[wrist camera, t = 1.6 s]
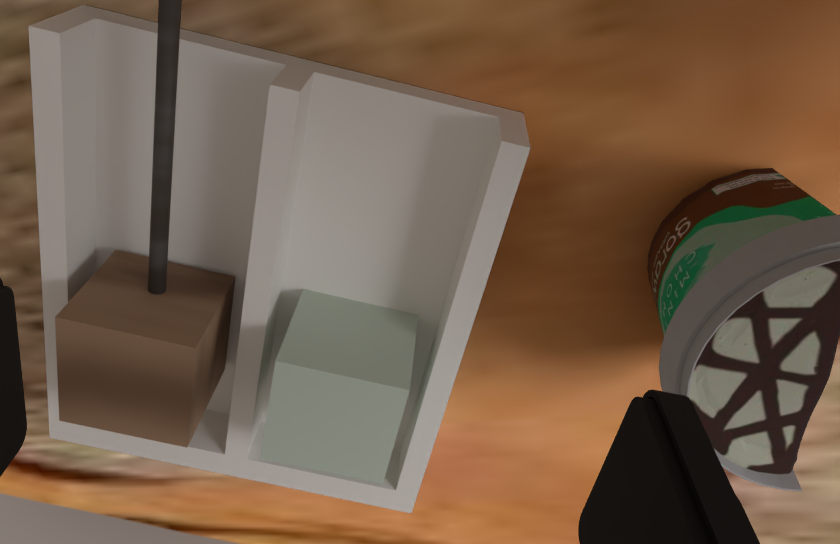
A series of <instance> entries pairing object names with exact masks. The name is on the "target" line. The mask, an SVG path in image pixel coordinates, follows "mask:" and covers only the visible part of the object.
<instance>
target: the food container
mask: <svg viewBox="0 0 840 544" xmlns="http://www.w3.org/2000/svg"><path fill="white" fill-rule="evenodd" d="M648 274H649V281H650V285H651V288H652V292H653V296H654V300H655V303H656V307H657V311H658V315H659V318H660V322H661V326H662V330H663V333H664V339H663V343H662V346H661V350H660V362H659V373H660V381H661V387H662V390H663V392H668V393H674V394H679V395H685V396H687V397H689V399H690V400H691V401H692V403H693V405H694V408H695V410H696V412H697V414H698V416H699V418H700V420H701V423H702V425H703V427H704V429H705V431H706V433H707V435H708V438H709V440H710V442H711V444H712V446H713V448H714V450H715V453H716V455H717V457H718V459H719V461H720V463H721V465H722V467H724V468H725V469H726V470H728V471H730V472H732V473H733V474H735V475H737V476H739V477H741V478H743V479H745V480H748V481H751V482H754V483H757V484H759V485H762V486H767V487H772V488H777V489H781V490H791V491H802V489H801V487H800V485H799V482H798V480H797V478H796V475H795V473H794V471H793V466H794V464H795V462H796V460H797V453H798V449H799V446H800V442H801V440H802V437H803V434H804V431H805V429H806V426H807V423H808V421H809V419H810V416H811V414H812V412H813V410H814V408H815V406H816V404H817V402H818V400H819V398H820V396H821V394H822V392H823V390H824V388H825V385H826V383H827V381H828V379H829V376H830V372H831V368H832V365H833V361H834V357H835V353H836V348H837V344H838V339H839V335H840V215H836V214H835V213H833V212H832V211H831V210H829V209H828V208H827V207H825V206H824V205H822V204H821V203H820V202H818V201H817V200H816V199H814V198H813V197H811V196H810V195H809V194H807V193H806V192H804V191H803V190H802V189H800V188H799V187H798V186H796V185H795V184H793V183H792V182H791V181H789V180H788V179H786V178H785V177H784V176H782V175H781V174H780V173H778V172H777V171H775V170H774V169H773V168H768V169H754V170H745V171H742V172H738V173H735V174H732V175H729V176H726V177H722V178H719V179H716V180H713V181H711V182H709V183H708V184H706V185H705V186H703V187H701V188H700V189H698V190H697V191H695V192H693V193H692V194H690V195H688V196H687V197H685V198H684V199H683V200H682V201H681V202H680V203H679V204H678V205H677V206H676V207H675V208H674V209H673V210H672V211H671V213H670V214H669V215H668V216H667V217H666V218H665V219H664V220H663V221H662V223H661V225H660V227H659V229H658V231H657V233H656V235H655V237H654V239H653V241H652V243H651V247H650V251H649V255H648Z"/></svg>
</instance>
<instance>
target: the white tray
mask: <svg viewBox="0 0 840 544" xmlns="http://www.w3.org/2000/svg"><path fill="white" fill-rule="evenodd" d="M28 27H29V46H30V65H31V85H32V104H33V123H34V143H35V162H36V181H37V201H38V220H39V240H40V259H41V278H42V298H43V317H44V336H45V356H46V375H47V394H48V414H49V433H50V438H53V439H58V440H63V441H68V442H73V443H77V444H82V445H87V446H92V447H96V448H101V449H106V450H111V451H116V452H120V453H125V454H130V455H135V456H139V457H144V458H149V459H154V460H159V461H163V462H168V463H173V464H178V465H182V466H187V467H192V468H197V469H202V470H206V471H211V472H216V473H221V474H225V475H230V476H235V477H240V478H245V479H249V480H254V481H259V482H264V483H269V484H273V485H278V486H283V487H288V488H292V489H297V490H302V491H307V492H312V493H316V494H321V495H326V496H331V497H335V498H340V499H345V500H350V501H355V502H359V503H364V504H369V505H374V506H378V507H383V508H388V509H393V510H398V511H402V512H407V513H412V510H413V507H414V504H415V501H416V498H417V494H418V491H419V488H420V485H421V482H422V479H423V476H424V473H425V470H426V467H427V464H428V461H429V458H430V455H431V452H432V448H433V445H434V442H435V439H436V436H437V433H438V430H439V427H440V424H441V421H442V418H443V415H444V412H445V409H446V406H447V403H448V399H449V396H450V393H451V390H452V387H453V384H454V381H455V378H456V375H457V372H458V369H459V366H460V363H461V360H462V357H463V353H464V350H465V347H466V344H467V341H468V338H469V335H470V332H471V329H472V326H473V323H474V320H475V317H476V314H477V311H478V308H479V304H480V301H481V298H482V295H483V292H484V289H485V286H486V283H487V280H488V277H489V274H490V271H491V268H492V265H493V262H494V258H495V255H496V252H497V249H498V246H499V243H500V240H501V237H502V234H503V231H504V228H505V225H506V222H507V219H508V216H509V212H510V209H511V206H512V203H513V200H514V197H515V194H516V191H517V188H518V185H519V182H520V179H521V176H522V173H523V170H524V167H525V163H526V160H527V157H528V154H529V151H530V143H529V138H528V133H527V128H526V123H525V118H524V113H521V112H517V111H513V110H509V109H505V108H501V107H497V106H493V105H489V104H485V103H481V102H477V101H473V100H469V99H465V98H461V97H456V96H452V95H448V94H444V93H440V92H436V91H432V90H428V89H424V88H420V87H416V86H412V85H408V84H404V83H400V82H395V81H391V80H387V79H383V78H379V77H375V76H371V75H367V74H363V73H359V72H355V71H351V70H347V69H343V68H339V67H335V66H330V65H326V64H322V63H318V62H314V61H310V60H306V59H302V58H298V57H294V56H290V55H286V54H282V53H278V52H274V51H269V50H265V49H261V48H257V47H253V46H249V45H245V44H241V43H237V42H233V41H229V40H225V39H221V38H217V37H213V36H209V35H204V34H200V33H196V32H192V31H188V30H184V29H180V39H179V58H178V76H177V95H176V113H175V131H174V150H173V168H172V187H171V205H170V224H169V242H168V262H172V263H177V264H181V265H186V266H190V267H194V268H199V269H203V270H208V271H212V272H216V273H221V274H225V275H230V276H234V277H235V285H234V294H233V303H232V312H231V321H230V330H229V339H228V348H227V356H226V365H225V370H224V372H223V374H222V376H221V378H220V380H219V383H218V385H217V387H216V389H215V391H214V393H213V395H212V397H211V399H210V401H209V403H208V405H207V407H206V410H205V412H204V414H203V416H202V418H201V420H200V422H199V424H198V426H197V428H196V430H195V432H194V435H193V437H192V439H191V441H190V443H189V445H188V447H187V448H186V447H182V446H177V445H172V444H167V443H163V442H158V441H153V440H148V439H144V438H139V437H134V436H129V435H125V434H120V433H115V432H110V431H106V430H101V429H96V428H91V427H87V426H82V425H77V424H72V423H68V422H63V421H59V402H58V378H57V354H56V330H55V317H56V315H57V314H58V313H59V312H60V311H61V310H62V309H63V308H64V307H65V306H66V304H67V303H68V302H69V301H70V300H71V299H72V298H73V297H74V296H75V294H76V293H77V292H78V291H79V290H80V289H81V288H82V287H83V286H84V284H85V283H86V282H87V281H88V280H89V279H90V278H91V277H92V276H93V274H94V273H95V272H96V271H97V270H98V269H99V268H100V267H101V266H102V264H103V263H104V262H105V261H106V260H107V259H108V258H109V257H110V256H111V255H112V253H113V252H114V251H115V250H119V251H124V252H128V253H132V254H137V255H141V256H146V257H149V244H150V218H151V192H152V166H153V140H154V114H155V88H156V63H157V37H158V23H156V22H152V21H148V20H143V19H139V18H135V17H131V16H127V15H123V14H119V13H115V12H111V11H107V10H103V9H99V8H95V7H91V6H87V5H81V6H79V7H76V8H74V9H71V10H68V11H66V12H63V13H61V14H58V15H55V16H53V17H50V18H48V19H45V20H42V21H40V22H37V23H35V24H32V25H29V26H28ZM303 289H307V290H311V291H315V292H320V293H324V294H329V295H333V296H338V297H342V298H346V299H351V300H355V301H360V302H364V303H368V304H373V305H377V306H382V307H386V308H391V309H395V310H399V311H404V312H408V313H413V314H417V315H418V324H417V332H416V341H415V349H414V358H413V367H412V375H411V384H410V391H409V395H408V398H407V402H406V405H405V409H404V412H403V416H402V419H401V423H400V426H399V430H398V433H397V437H396V440H395V443H394V447H393V450H392V454H391V457H390V461H389V464H388V468H387V471H386V475H385V478H384V482H383V484H380V483H376V482H371V481H366V480H361V479H357V478H352V477H347V476H342V475H338V474H333V473H328V472H324V471H319V470H314V469H309V468H305V467H300V466H295V465H290V464H286V463H281V462H276V461H271V460H267V459H262V458H260V455H261V449H262V443H263V436H264V430H265V424H266V417H267V411H268V405H269V398H270V392H271V386H272V379H273V373H274V366H275V361H276V358H277V355H278V353H279V350H280V348H281V345H282V343H283V340H284V337H285V335H286V332H287V330H288V327H289V325H290V322H291V319H292V317H293V314H294V312H295V309H296V307H297V304H298V301H299V299H300V296H301V294H302V291H303Z"/></svg>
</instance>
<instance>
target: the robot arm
mask: <svg viewBox="0 0 840 544" xmlns="http://www.w3.org/2000/svg"><path fill="white" fill-rule="evenodd" d="M26 430H27V420H26V410H25V401H24V391H23V381H22V371H21V361H20V351H19V341H18V332H17V322H16V312H15V302H14V295H13V291H12V289H11V288H10V287H8V286H3V282H2V280H1V278H0V476H1V475H2V474H3V472H4V471H5V469H6V468H7V467H8V465H9V464H10V462H11V461H12V460H13V458H14V457H15V455H16V454H17V453H18V451H19V450H20V448H21V446H22V444H23V442H24V439H25V436H26ZM579 541H580V544H760V543H759V541H758V538H757V536H756V534H755V532H754V530H753V528H752V526H751V524H750V521H749V519H748V517H747V515H746V513H745V511H744V509H743V507H742V504H741V503H740V501H739V499H738V498H737V496H736V495H735V493H734V491H733V489H732V487H731V485H730V482H729V480H728V478H727V476H726V474H725V472H724V470H723V468H722V465H721V463H720V461H719V459H718V457H717V455H716V453H715V450H714V448H713V446H712V444H711V442H710V440H709V438H708V435H707V433H706V431H705V429H704V427H703V425H702V423H701V420H700V418H699V416H698V414H697V412H696V410H695V408H694V405H693V403H692V401H691V400H690V399H689V397H687V396H685V395H679V394H674V393H668V392H662V391H657V390H648V391H647V392H646V393H645V394H644V396H643V398H642V397H635V398H634V399H633V400H632V401H631V403H630V405H629V408H628V410H627V412H626V414H625V417H624V419H623V421H622V423H621V426H620V428H619V430H618V432H617V435H616V437H615V439H614V441H613V444H612V446H611V448H610V450H609V453H608V455H607V457H606V459H605V462H604V464H603V466H602V468H601V471H600V473H599V475H598V477H597V480H596V482H595V484H594V486H593V489H592V491H591V493H590V495H589V498H588V500H587V502H586V504H585V507H584V509H583V511H582V514H581V517H580V521H579Z"/></svg>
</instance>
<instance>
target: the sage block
mask: <svg viewBox="0 0 840 544" xmlns="http://www.w3.org/2000/svg"><path fill="white" fill-rule="evenodd" d="M417 324H418V315H417V314H413V313H408V312H404V311H399V310H395V309H391V308H386V307H382V306H377V305H373V304H368V303H364V302H360V301H355V300H351V299H346V298H342V297H338V296H333V295H329V294H324V293H320V292H315V291H311V290H307V289H303V291H302V294H301V296H300V299H299V301H298V304H297V307H296V309H295V312H294V314H293V317H292V319H291V322H290V325H289V327H288V330H287V332H286V335H285V337H284V340H283V343H282V345H281V348H280V350H279V353H278V355H277V358H276V361H275V366H274V373H273V379H272V386H271V392H270V398H269V405H268V411H267V417H266V424H265V430H264V436H263V443H262V449H261V455H260V458H262V459H267V460H271V461H276V462H281V463H286V464H290V465H295V466H300V467H305V468H309V469H314V470H319V471H324V472H328V473H333V474H338V475H342V476H347V477H352V478H357V479H361V480H366V481H371V482H376V483H380V484H383V482H384V478H385V475H386V471H387V468H388V464H389V461H390V457H391V454H392V450H393V447H394V443H395V440H396V437H397V433H398V430H399V426H400V423H401V419H402V416H403V412H404V409H405V405H406V402H407V398H408V395H409V391H410V384H411V375H412V367H413V358H414V349H415V341H416V332H417Z"/></svg>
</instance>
